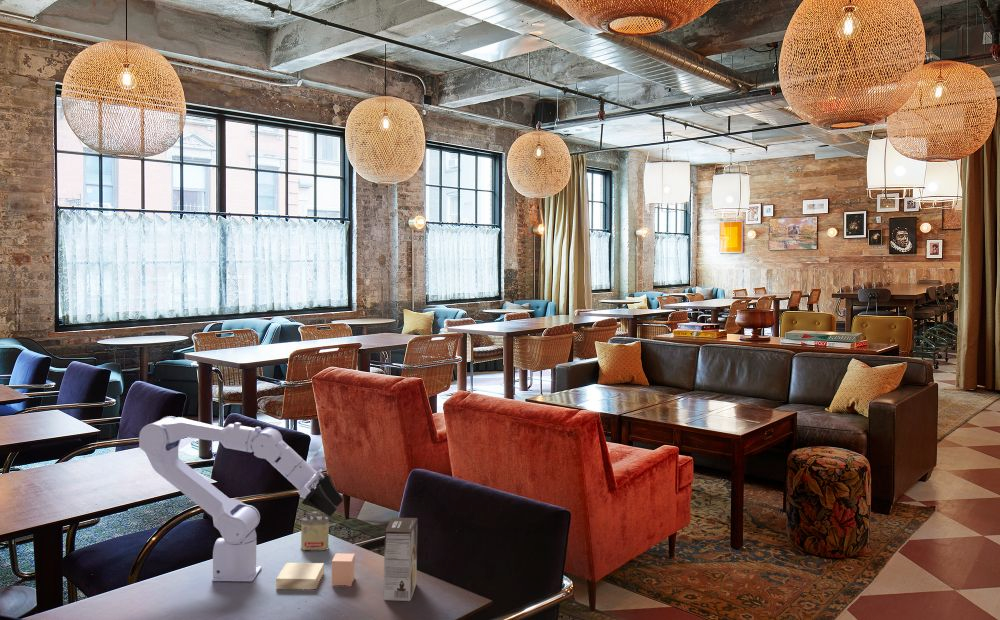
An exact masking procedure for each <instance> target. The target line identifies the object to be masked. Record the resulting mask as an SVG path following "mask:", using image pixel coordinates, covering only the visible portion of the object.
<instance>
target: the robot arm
mask: <svg viewBox="0 0 1000 620" xmlns="http://www.w3.org/2000/svg"><path fill="white" fill-rule="evenodd" d="M138 435H139V436H138V443H139V445H138V446H139V449H140V450H142V451H143V452H144V453H145V454H146V457H147V459H148V461H149V462H150V463H149V464H150V465H151V467H152V469H153V470H154V472H155V473H158V475H160V476H161V477H162V478H163V479H164V480H166V481H167V482H168V483H169V484H171V485H172V486H173V487H175V488H176V489H177V490H179V491H180V492H181V493H182V494H183V495H185V496H186V497H187V498H189V500H191V501H192V502H193V503H195V504H196V505H198V507H200V508H201V509H202V510H204V511H205V512H206V513H207V514H208V515H210V517H212V521H213V522H212V523H213V527H214V528H215V529H217V530H218V531H219V533H220V535H221V537H218V538H217V539H216V541H214V542H215V543H214V545H213V549H212V577H211V581H212V582H253V581H254V579H255V578H257V577H256V576H258V573H260V571H261V570H262V565H257V532H256V528H257V527H258V525H259V523H260V520H261V515H260V514H261V513H260V512H259V510H258V509H257V508H256V507H255V506H253V505H250V504H246V503H244V502H242V501H241V500H240V499H235V498H230V497H228V496H227V495H226V494H224V493H223V492H222V491H221V490H219V489H218V488H217V487H216V486H215V485H213V484H212V483H211V482H210V481H208V480H207V479H205V478H204V477H203V476H202V475H201V474H200V473H198V472H197V471H196V470H194V469H193V468H192V467H191V466H190V465H188V464H187V463H185V461H184V460H182V459H181V458H179V447H180V443H181V441H182V440H183V439H186V438H191V439H198V440H205V441H213V442H219V443H221V445H222V446H223V448H225V449H229V450H230V449H231V450H235V451H241V452H246V453H253V456H255V458H259V459H264V460H265V461H267V462H269V463H270V465H271V466H272V467H273V468H274V469H276V470H277V471H278V472H279V473H280V474H281V475H282V476H283V477H284V478H285V479H287V481H288V482H289V483H291V484H292V485H293V486H294V487H295V488H296V489H297V490H298V492H297V494H299V496H301V497H302V498H303V500H302V501H301V504H302V505H303V506H308V507H312V508H313V509H317V510H318V511H322V512H323V513H325V515H326V516H328V517H331V516H332V515H333V514H334V513H335V512H336V511H337V510H338V509H337V507H339V505H340V504H341V503H343V501H344V498H343V496H342V495H341V494H340V492H339V491H338V490H337V488H336V487H335V484H334V482H333V480H332V476H331V475H330V474H329V473H327V474H326V475H325V476H324V474H322V472H324V471H323V469H322V468H320V469H319V470H318V471H317V470H316V469H315V468H313V467H312V466H311V465H310V464H309V463H308V462H307V461H306V460H304V459H303V457H302V456H301V455H299V454H298V452H296V451H295V450H294V449H293V448H292V447H291V446H289V445H288V444H287V443H286V442H285V440H283V436H282V434H281V432H280V431H279V430H278V429H276V428H273V427H271V426H270V427H269V426H268V427H265V428H264V429H262V428H261V426H256V427H251V426H247V425H246V426H245V425H242V422H238V421H237V422H234V423H229V424H227V425H226V426H225V427H223V426H217V425H214V424H209V423H205V422H201V421H197V420H193V419H188V418H186V417H183V416H181V417H180V416H178V417H176V416H172V415H171V416H170V415H169V416H168V415H167V416H164V417H162V418H161V419H160V420H156V421H154V422H152V423H149V424H146V425H145V426H143V427H142V428H141V430H140V431H139V434H138Z"/></svg>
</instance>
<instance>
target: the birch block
mask: <svg viewBox="0 0 1000 620" xmlns="http://www.w3.org/2000/svg"><path fill="white" fill-rule="evenodd" d="M324 572H325V564H324V562H286V563H285V564H284V565H283V567H282V569H281V570H280V572H279V574H278V575H277V576H276V578H275V580H276V581H275V583H276V584H275V589H303V590H302V591H305V590H304V589H316V590H317V589H318V586H319V584H320V582H321V580H322V578H323V576H324V574H323V573H324ZM322 575H323V576H322ZM321 577H322V578H321ZM320 579H321V580H320ZM319 581H320V582H319ZM318 583H319V584H318ZM317 585H318V586H317Z"/></svg>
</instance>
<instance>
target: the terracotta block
mask: <svg viewBox="0 0 1000 620" xmlns="http://www.w3.org/2000/svg"><path fill="white" fill-rule="evenodd" d="M355 556H356V555H355V553H335V554H334V556H333V558H332V560H331V586H332V585H346V586H345V587H352V586H353V583H352V582H354V580H355V566H356V565H355V564H356V563H355V560H356V559H355V558H356V557H355ZM347 585H348V586H347Z"/></svg>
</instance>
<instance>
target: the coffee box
mask: <svg viewBox="0 0 1000 620" xmlns="http://www.w3.org/2000/svg"><path fill="white" fill-rule="evenodd" d="M418 519H419V518H418V517H391V518H390V520H389V522H388V524H387V527H386V529H385V531H384V557H383V559H384V560H383V561H384V565H383V566H384V567H383V571H384V572H383V600H384V601H397V602H398V601H402V602H403V601H404V602H410V601H412V598H413V596H414V592H415V589H416V585H417V575H418V574H417V571H418V570H417V568H418V567H417V566H418V564H417V563H418Z"/></svg>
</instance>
